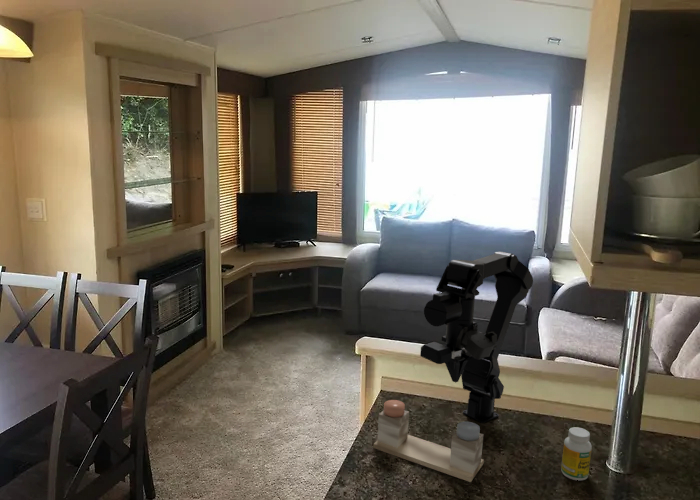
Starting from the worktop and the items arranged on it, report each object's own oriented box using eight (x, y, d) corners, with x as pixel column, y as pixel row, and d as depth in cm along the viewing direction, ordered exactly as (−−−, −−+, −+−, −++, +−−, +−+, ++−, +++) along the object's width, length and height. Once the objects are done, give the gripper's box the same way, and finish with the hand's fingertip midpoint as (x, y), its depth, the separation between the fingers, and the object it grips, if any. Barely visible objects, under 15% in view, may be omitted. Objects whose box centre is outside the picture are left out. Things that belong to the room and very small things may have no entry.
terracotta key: (389, 411, 129) (390, 398, 129) (407, 417, 127) (408, 403, 126) (379, 420, 126) (380, 405, 125) (398, 425, 123) (399, 411, 123)
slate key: (460, 434, 121) (461, 419, 120) (481, 440, 119) (482, 425, 118) (452, 443, 117) (453, 428, 116) (474, 450, 115) (475, 434, 114)
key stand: (390, 432, 132) (391, 402, 131) (483, 463, 121) (486, 431, 119) (373, 447, 126) (374, 416, 124) (470, 482, 114) (473, 448, 113)
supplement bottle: (571, 464, 122) (576, 422, 120) (593, 476, 118) (599, 434, 116) (555, 471, 119) (560, 429, 117) (577, 484, 115) (583, 441, 113)
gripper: (459, 334, 115) (454, 405, 119) (515, 319, 127) (509, 384, 130) (420, 319, 124) (416, 386, 127) (476, 306, 135) (471, 368, 138)
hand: (455, 381), depth 130 cm, fingers closed
